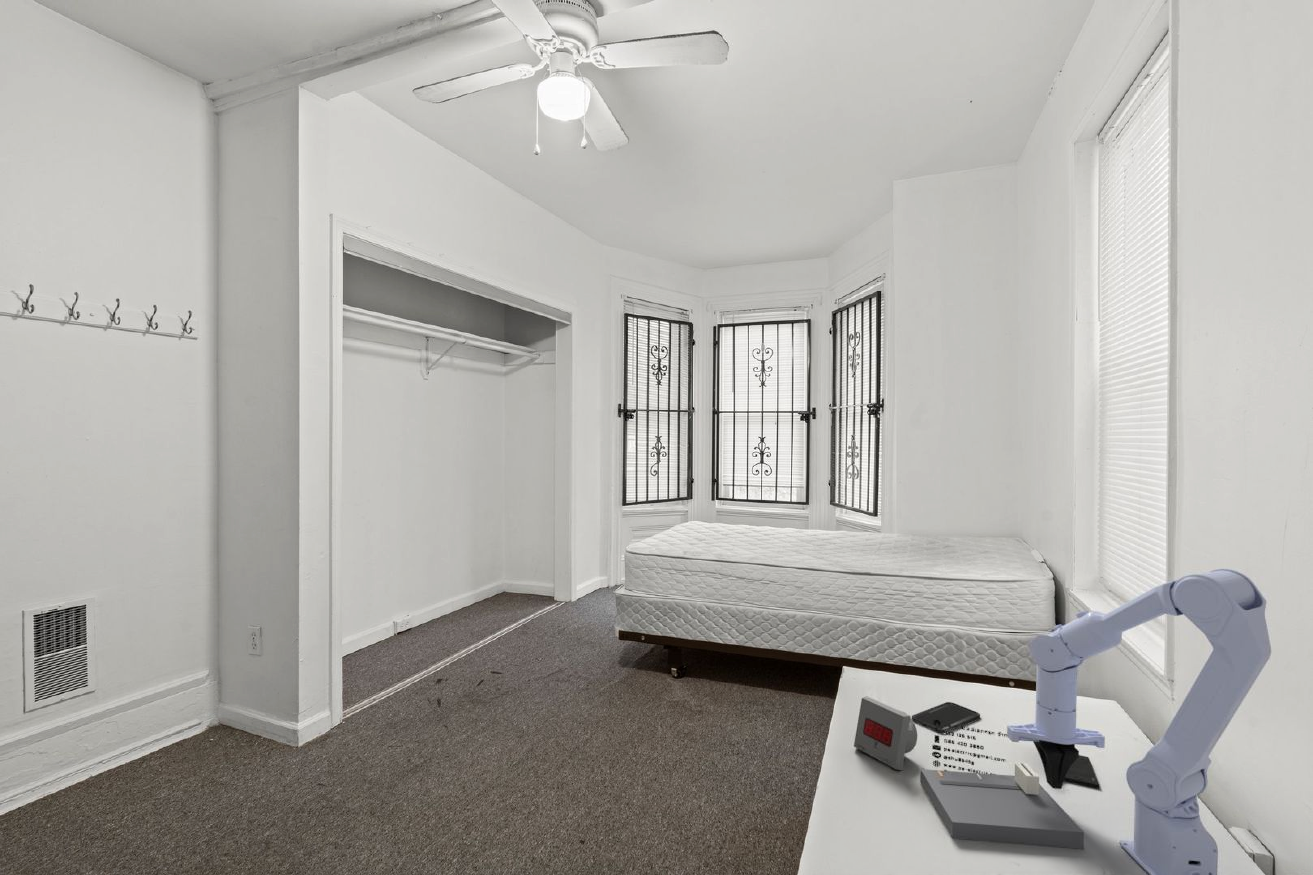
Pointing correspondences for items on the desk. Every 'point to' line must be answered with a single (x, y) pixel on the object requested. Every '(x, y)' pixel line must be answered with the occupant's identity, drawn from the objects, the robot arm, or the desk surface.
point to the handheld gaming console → (1082, 773)
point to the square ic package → (946, 717)
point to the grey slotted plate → (998, 810)
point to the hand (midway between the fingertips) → (1054, 785)
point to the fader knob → (1026, 778)
